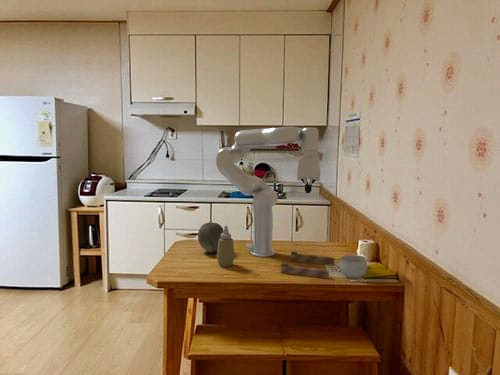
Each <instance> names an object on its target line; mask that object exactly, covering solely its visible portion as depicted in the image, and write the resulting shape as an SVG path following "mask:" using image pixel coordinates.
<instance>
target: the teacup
mask: <svg viewBox="0 0 500 375" xmlns="http://www.w3.org/2000/svg"><path fill="white" fill-rule="evenodd" d="M339 261H340V262H339V263H340V271H341V273H342V275H344V276H345V277H346V278H349V279H360V278H362V277H363V276H365V274H366V273H367V257H365V256H362V255H357V254H356V253H354V254H346V255H345V254H344V255H342V256H341V257H339Z"/></svg>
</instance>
